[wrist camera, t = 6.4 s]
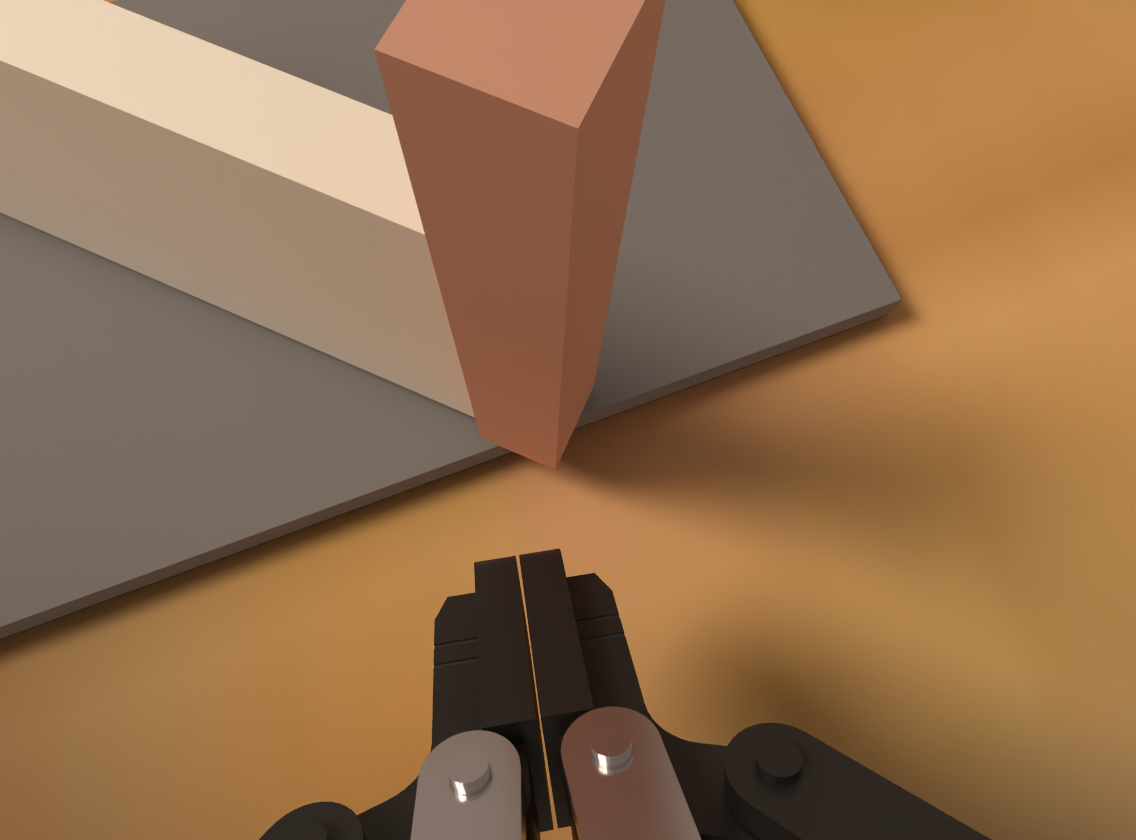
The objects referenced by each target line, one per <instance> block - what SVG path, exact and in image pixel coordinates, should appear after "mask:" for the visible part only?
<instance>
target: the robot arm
mask: <svg viewBox="0 0 1136 840" xmlns="http://www.w3.org/2000/svg"><path fill="white" fill-rule="evenodd" d="M519 557H520V565H521V573H522V580H523V588H524V595H525V603H526V610H527V618H528V625H529V633H530V640H531V648H532V655H533V663H534V670H535V678H536V685H537V693H538V700H539V708H540V715H541V722H542V728H543V735H544V741H545V748H546V754H547V760H548V767H549V773H550V780H551V786H552V793H553V799H554V806H555V812H556V818H557V825H558V828H562V827H567V826H571V829H572V836H573V840H991V839H989V838H987V837H985V836H984V835H982V834H980V833H979V832H977V831H975V830H973V829H972V828H970V827H968V826H966V825H965V824H963V823H961V822H960V821H958V820H956V819H954V818H953V817H951V816H949V815H947V814H946V813H944V812H942V811H941V810H939V809H937V808H935V807H934V806H932V805H930V804H928V803H927V802H925V801H923V800H921V799H920V798H918V797H916V796H915V795H913V794H911V793H909V792H908V791H906V790H904V789H902V788H901V787H899V786H897V785H896V784H894V783H892V782H890V781H889V780H887V779H885V778H883V777H882V776H880V775H878V774H877V773H875V772H873V771H871V770H870V769H868V768H866V767H864V766H863V765H861V764H859V763H858V762H856V761H854V760H852V759H851V758H849V757H847V756H845V755H844V754H842V753H840V752H838V751H837V750H835V749H833V748H832V747H830V746H828V745H826V744H825V743H823V742H821V741H819V740H818V739H816V738H814V737H813V736H811V735H809V734H807V733H806V732H804V731H802V730H800V729H798V728H795V727H792V726H789V725H784V724H779V723H763V724H757V725H753V726H751V727H748V728H746V729H744V730H742V731H741V732H739V733H738V734H737V735H736V736H735V737H734V738H733V739H732V740H731V742H730V743H729V745H728V746H720V745H711V744H702V743H695V742H690V741H686V740H683V739H680V738H678V737H676V736H674V735H671V734H670V733H668V732H667V731H665V730H664V729H662V728H661V727H660V726H659V725H658V724H657V723H656V722H655V721H654V720H653V719H652V718H651V716H650V714H649V713H648V711H647V708H646V706H645V703H644V700H643V696H642V693H641V689H640V686H639V682H638V679H637V675H636V672H635V669H634V665H633V662H632V658H631V655H630V651H629V648H628V644H627V641H626V637H625V636H624V630H623V627H622V623H621V620H620V618H619V613H618V609H617V606H616V603H615V599H614V596H613V592H612V590H611V589H610V588H609V587H608V586H607V585H606V584H605V583H604V582H603V581H602V580H601V579H600V578H599V577H598V576H597V575H596V574H595V573H591V574H585V575H579V576H573V577H567V578H566V574H565V569H564V565H563V560H562V555H561V551H560V549H554V550H548V551H542V552H535V553H529V554H523V555H519ZM474 571H475V592H476V593H470V594H464V595H457V596H451V597H447V599H446V601H445V603H444V604H443V606H442V608H441V610H440V612H439V613H438V615H437V617H436V619H435V631H434V646H435V649H434V676H433V722H432V747H431V752H430V754H429V755H428V756H427V758H426V759H425V761H424V763H423V765H422V767H421V769H420V773H419V776H418V777H417V778H416V779H415V780H414V781H413V782H412V783H411V784H410V785H409V786H408V787H407V788H406V789H405V790H403V791H402V792H400V793H399V794H398V795H396V796H394V797H393V798H391V799H389V800H387V801H385V802H383V803H381V804H379V805H377V806H375V807H373V808H371V809H369V810H367V811H365V812H363V813H361V814H359V815H356V814H355V813H354V812H353V811H352V810H351V809H349V808H348V807H346V806H344V805H342V804H339V803H334V802H317V803H312V804H308V805H304V806H302V807H300V808H297V809H295V810H293V811H292V812H290V813H288V814H286V815H285V816H284V817H282V818H281V819H280V820H278V821H277V822H276V823H275V824H274V825H273V826H272V827H271V828H269V830H268V831H267V832H266V833H265V834H264V835H263V836H262V837H261V838H260V839H259V840H541V839H540V832H543V831H548V830H553V821H552V814H551V806H550V798H549V791H548V783H547V775H546V768H545V760H544V752H543V745H542V737H541V729H540V722H539V714H538V706H537V699H536V691H535V683H534V676H533V668H532V661H531V653H530V646H529V639H528V632H527V625H526V619H525V612H524V606H523V600H522V593H521V587H520V580H519V574H518V567H517V561H516V556H512V557H505V558H499V559H493V560H487V561H480V562H475V563H474Z"/></svg>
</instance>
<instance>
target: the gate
mask: <svg viewBox="0 0 1136 840" xmlns="http://www.w3.org/2000/svg"><path fill="white" fill-rule="evenodd" d="M665 1H666V0H406V1H405V3H404V4H403V6H402V7H401V9H400V11H399V12H398V14H397V15H396V17H395V18H394V20H393V21H392V23H391V25H390V26H389V28H388V29H387V31H386V32H385V34H384V35H383V37H382V38H381V40H380V42H379V43H378V45H377V46H376V48H375V49H374V50H375V53H376V57H377V61H378V64H379V68H380V72H381V75H382V79H383V83H384V86H385V90H386V94H387V97H388V101H389V105H390V108H391V112H392V115H391V114H388V113H386V112H383V111H381V110H378V109H376V108H373V107H371V106H368V105H366V104H363V103H361V102H358V101H356V100H353V99H350V98H348V97H345V96H343V95H340V94H338V93H335V92H333V91H330V90H328V89H325V88H323V87H320V86H318V85H315V84H313V83H310V82H308V81H305V80H303V79H300V78H298V77H295V76H292V75H290V74H287V73H285V72H282V71H280V70H277V69H275V68H272V67H270V66H267V65H265V64H262V63H260V62H257V61H255V60H252V59H250V58H247V57H245V56H242V55H240V54H237V53H235V52H232V51H229V50H227V49H224V48H222V47H219V46H217V45H214V44H212V43H209V42H207V41H204V40H202V39H199V38H197V37H194V36H192V35H189V34H187V33H184V32H182V31H179V30H177V29H174V28H171V27H169V26H166V25H164V24H161V23H159V22H156V21H154V20H151V19H149V18H146V17H144V16H141V15H139V14H136V13H134V12H131V11H129V10H126V9H124V8H121V7H119V6H116V5H113V4H111V3H108V2H106V1H103V0H0V213H3V214H5V215H7V216H10V217H12V218H14V219H17V220H19V221H21V222H23V223H26V224H28V225H30V226H33V227H35V228H37V229H40V230H42V231H44V232H47V233H49V234H51V235H54V236H56V237H58V238H60V239H63V240H65V241H67V242H70V243H72V244H74V245H77V246H79V247H81V248H84V249H86V250H88V251H91V252H93V253H95V254H97V255H100V256H102V257H104V258H107V259H109V260H111V261H114V262H116V263H118V264H121V265H123V266H125V267H128V268H130V269H132V270H134V271H137V272H139V273H141V274H144V275H146V276H148V277H151V278H153V279H155V280H158V281H160V282H162V283H165V284H167V285H169V286H171V287H174V288H176V289H178V290H181V291H183V292H185V293H188V294H190V295H192V296H195V297H197V298H199V299H201V300H204V301H206V302H208V303H211V304H213V305H215V306H218V307H220V308H222V309H225V310H227V311H229V312H232V313H234V314H236V315H238V316H241V317H243V318H245V319H248V320H250V321H252V322H255V323H257V324H259V325H262V326H264V327H266V328H269V329H271V330H273V331H275V332H278V333H280V334H282V335H285V336H287V337H289V338H292V339H294V340H296V341H299V342H301V343H303V344H306V345H308V346H310V347H312V348H315V349H317V350H319V351H322V352H324V353H326V354H329V355H331V356H333V357H336V358H338V359H340V360H343V361H345V362H347V363H349V364H352V365H354V366H356V367H359V368H361V369H363V370H366V371H368V372H370V373H373V374H375V375H377V376H380V377H382V378H384V379H386V380H389V381H391V382H393V383H396V384H398V385H400V386H403V387H405V388H407V389H410V390H412V391H414V392H417V393H419V394H421V395H423V396H426V397H428V398H430V399H433V400H435V401H437V402H440V403H442V404H444V405H447V406H449V407H451V408H454V409H456V410H458V411H460V412H463V413H465V414H467V415H470V416H472V417H474V418H475V420H476V423H477V427H478V431H479V434H480V438H483V439H485V440H487V441H490V442H492V443H494V444H497V445H499V446H501V447H503V448H506V449H508V450H510V451H513V452H515V453H517V454H520V455H522V456H524V457H526V458H529V459H531V460H533V461H536V462H538V463H540V464H543V465H545V466H547V467H549V468H552V469H554V470H556V468H557V465H558V463H559V461H560V459H561V457H562V454H563V452H564V450H565V448H566V446H567V444H568V441H569V439H570V437H571V435H572V433H573V430H574V428H575V426H576V424H577V422H578V419H579V417H580V415H581V413H582V411H583V409H584V406H585V404H586V402H587V400H588V398H589V395H590V393H591V391H592V389H593V387H594V384H595V378H596V373H597V368H598V362H599V357H600V351H601V346H602V341H603V335H604V330H605V325H606V319H607V314H608V308H609V303H610V298H611V292H612V287H613V281H614V276H615V271H616V265H617V260H618V254H619V249H620V244H621V238H622V233H623V227H624V222H625V217H626V211H627V206H628V201H629V195H630V190H631V184H632V179H633V174H634V168H635V163H636V157H637V152H638V147H639V141H640V136H641V130H642V125H643V120H644V114H645V109H646V104H647V98H648V93H649V87H650V82H651V77H652V71H653V66H654V60H655V55H656V50H657V44H658V39H659V33H660V28H661V23H662V17H663V12H664V6H665Z"/></svg>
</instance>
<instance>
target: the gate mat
mask: <svg viewBox="0 0 1136 840" xmlns="http://www.w3.org/2000/svg"><path fill="white" fill-rule="evenodd" d="M405 1H406V0H118V1H114V2H110V3H111V4H113V5H116V6H119V7H121V8H124V9H126V10H129V11H131V12H134V13H136V14H139V15H141V16H144V17H146V18H149V19H151V20H154V21H156V22H159V23H161V24H164V25H166V26H169V27H171V28H174V29H177V30H179V31H182V32H184V33H187V34H189V35H192V36H194V37H197V38H199V39H202V40H204V41H207V42H209V43H212V44H214V45H217V46H219V47H222V48H224V49H227V50H229V51H232V52H235V53H237V54H240V55H242V56H245V57H247V58H250V59H252V60H255V61H257V62H260V63H262V64H265V65H267V66H270V67H272V68H275V69H277V70H280V71H282V72H285V73H287V74H290V75H292V76H295V77H298V78H300V79H303V80H305V81H308V82H310V83H313V84H315V85H318V86H320V87H323V88H325V89H328V90H330V91H333V92H335V93H338V94H340V95H343V96H345V97H348V98H350V99H353V100H356V101H358V102H361V103H363V104H366V105H368V106H371V107H373V108H376V109H378V110H381V111H383V112H386V113H388V114H391V115H392V112H391V108H390V105H389V101H388V97H387V94H386V90H385V86H384V83H383V79H382V75H381V72H380V68H379V64H378V61H377V57H376V53H375V50H374V49H375V48H376V46H377V45H378V43H379V42H380V40H381V38H382V37H383V35H384V34H385V32H386V31H387V29H388V28H389V26H390V25H391V23H392V21H393V20H394V18H395V17H396V15H397V14H398V12H399V11H400V9H401V7H402V6H403V4H404V3H405ZM901 300H902V299H901V297H900V295H899V293H898V292H897V290H896V288H895V286H894V285H893V283H892V281H891V279H890V278H889V276H888V274H887V272H886V270H885V269H884V267H883V265H882V263H881V262H880V260H879V258H878V256H877V255H876V253H875V251H874V249H873V247H872V246H871V244H870V242H869V240H868V239H867V237H866V235H865V233H864V231H863V230H862V228H861V226H860V224H859V223H858V221H857V219H856V217H855V216H854V214H853V212H852V210H851V208H850V207H849V205H848V203H847V201H846V200H845V198H844V196H843V194H842V193H841V191H840V189H839V187H838V185H837V184H836V182H835V180H834V178H833V177H832V175H831V173H830V171H829V169H828V168H827V166H826V164H825V162H824V161H823V159H822V157H821V155H820V154H819V152H818V150H817V148H816V146H815V145H814V143H813V141H812V139H811V138H810V136H809V134H808V132H807V131H806V129H805V127H804V125H803V123H802V122H801V120H800V118H799V116H798V115H797V113H796V111H795V109H794V107H793V106H792V104H791V102H790V100H789V99H788V97H787V95H786V93H785V92H784V90H783V88H782V86H781V84H780V83H779V81H778V79H777V77H776V76H775V74H774V72H773V70H772V69H771V67H770V65H769V63H768V61H767V60H766V58H765V56H764V54H763V53H762V51H761V49H760V47H759V45H758V44H757V42H756V40H755V38H754V37H753V35H752V33H751V31H750V30H749V28H748V26H747V24H746V22H745V21H744V19H743V17H742V15H741V14H740V12H739V10H738V8H737V7H736V5H735V3H734V1H733V0H666V1H665V6H664V12H663V17H662V23H661V28H660V33H659V39H658V44H657V50H656V55H655V60H654V66H653V71H652V77H651V82H650V87H649V93H648V98H647V104H646V109H645V114H644V120H643V125H642V130H641V136H640V141H639V147H638V152H637V157H636V163H635V168H634V174H633V179H632V184H631V190H630V195H629V201H628V206H627V211H626V217H625V222H624V227H623V233H622V238H621V244H620V249H619V254H618V260H617V265H616V271H615V276H614V281H613V287H612V292H611V298H610V303H609V308H608V314H607V319H606V325H605V330H604V335H603V341H602V346H601V351H600V357H599V362H598V368H597V373H596V378H595V384H594V387H593V389H592V391H591V393H590V395H589V398H588V400H587V402H586V404H585V406H584V409H583V411H582V413H581V415H580V417H579V419H578V422H577V424H576V426H575V428H574V429H576V428H579V427H582V426H584V425H587V424H590V423H593V422H595V421H598V420H601V419H604V418H606V417H609V416H612V415H615V414H617V413H620V412H623V411H625V410H628V409H631V408H634V407H636V406H639V405H642V404H645V403H647V402H650V401H653V400H656V399H658V398H661V397H664V396H667V395H669V394H672V393H675V392H677V391H680V390H683V389H686V388H688V387H691V386H694V385H697V384H699V383H702V382H705V381H708V380H710V379H713V378H716V377H719V376H721V375H724V374H727V373H729V372H732V371H735V370H738V369H740V368H743V367H746V366H749V365H751V364H754V363H757V362H760V361H762V360H765V359H768V358H771V357H773V356H776V355H779V354H781V353H784V352H787V351H790V350H792V349H795V348H798V347H801V346H803V345H806V344H809V343H812V342H814V341H817V340H820V339H822V338H825V337H828V336H831V335H833V334H836V333H839V332H842V331H844V330H847V329H850V328H853V327H855V326H858V325H861V324H864V323H866V322H869V321H872V320H874V319H877V318H880V317H883V316H885V315H887V314H888V313H889V312H890V311H891V310H892V309H893V308H894V307H895V306H896V305H897V304H898V303H899V302H900V301H901ZM511 452H513V451H510V450H508V449H506V448H503V447H501V446H499V445H497V444H494V443H492V442H490V441H487V440H485V439H483V438H480V434H479V431H478V427H477V423H476V420H475V418H474V417H472V416H470V415H467V414H465V413H463V412H460V411H458V410H456V409H454V408H451V407H449V406H447V405H444V404H442V403H440V402H437V401H435V400H433V399H430V398H428V397H426V396H423V395H421V394H419V393H417V392H414V391H412V390H410V389H407V388H405V387H403V386H400V385H398V384H396V383H393V382H391V381H389V380H386V379H384V378H382V377H380V376H377V375H375V374H373V373H370V372H368V371H366V370H363V369H361V368H359V367H356V366H354V365H352V364H349V363H347V362H345V361H343V360H340V359H338V358H336V357H333V356H331V355H329V354H326V353H324V352H322V351H319V350H317V349H315V348H312V347H310V346H308V345H306V344H303V343H301V342H299V341H296V340H294V339H292V338H289V337H287V336H285V335H282V334H280V333H278V332H275V331H273V330H271V329H269V328H266V327H264V326H262V325H259V324H257V323H255V322H252V321H250V320H248V319H245V318H243V317H241V316H238V315H236V314H234V313H232V312H229V311H227V310H225V309H222V308H220V307H218V306H215V305H213V304H211V303H208V302H206V301H204V300H201V299H199V298H197V297H195V296H192V295H190V294H188V293H185V292H183V291H181V290H178V289H176V288H174V287H171V286H169V285H167V284H165V283H162V282H160V281H158V280H155V279H153V278H151V277H148V276H146V275H144V274H141V273H139V272H137V271H134V270H132V269H130V268H128V267H125V266H123V265H121V264H118V263H116V262H114V261H111V260H109V259H107V258H104V257H102V256H100V255H97V254H95V253H93V252H91V251H88V250H86V249H84V248H81V247H79V246H77V245H74V244H72V243H70V242H67V241H65V240H63V239H60V238H58V237H56V236H54V235H51V234H49V233H47V232H44V231H42V230H40V229H37V228H35V227H33V226H30V225H28V224H26V223H23V222H21V221H19V220H17V219H14V218H12V217H10V216H7V215H5V214H3V213H0V639H2V638H4V637H7V636H10V635H13V634H15V633H18V632H21V631H24V630H26V629H29V628H32V627H34V626H37V625H40V624H43V623H45V622H48V621H51V620H54V619H56V618H59V617H62V616H65V615H67V614H70V613H73V612H76V611H78V610H81V609H84V608H86V607H89V606H92V605H95V604H97V603H100V602H103V601H106V600H108V599H111V598H114V597H117V596H119V595H122V594H125V593H127V592H130V591H133V590H136V589H138V588H141V587H144V586H147V585H149V584H152V583H155V582H158V581H160V580H163V579H166V578H169V577H171V576H174V575H177V574H179V573H182V572H185V571H188V570H190V569H193V568H196V567H199V566H201V565H204V564H207V563H210V562H212V561H215V560H218V559H221V558H223V557H226V556H229V555H231V554H234V553H237V552H240V551H242V550H245V549H248V548H251V547H253V546H256V545H259V544H262V543H264V542H267V541H270V540H273V539H275V538H278V537H281V536H283V535H286V534H289V533H292V532H294V531H297V530H300V529H303V528H305V527H308V526H311V525H314V524H316V523H319V522H322V521H325V520H327V519H330V518H333V517H335V516H338V515H341V514H344V513H346V512H349V511H352V510H355V509H357V508H360V507H363V506H366V505H368V504H371V503H374V502H376V501H379V500H382V499H385V498H387V497H390V496H393V495H396V494H398V493H401V492H404V491H407V490H409V489H412V488H415V487H418V486H420V485H423V484H426V483H428V482H431V481H434V480H437V479H439V478H442V477H445V476H448V475H450V474H453V473H456V472H459V471H461V470H464V469H467V468H470V467H472V466H475V465H478V464H480V463H483V462H486V461H489V460H491V459H494V458H497V457H500V456H502V455H505V454H508V453H511Z"/></svg>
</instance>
